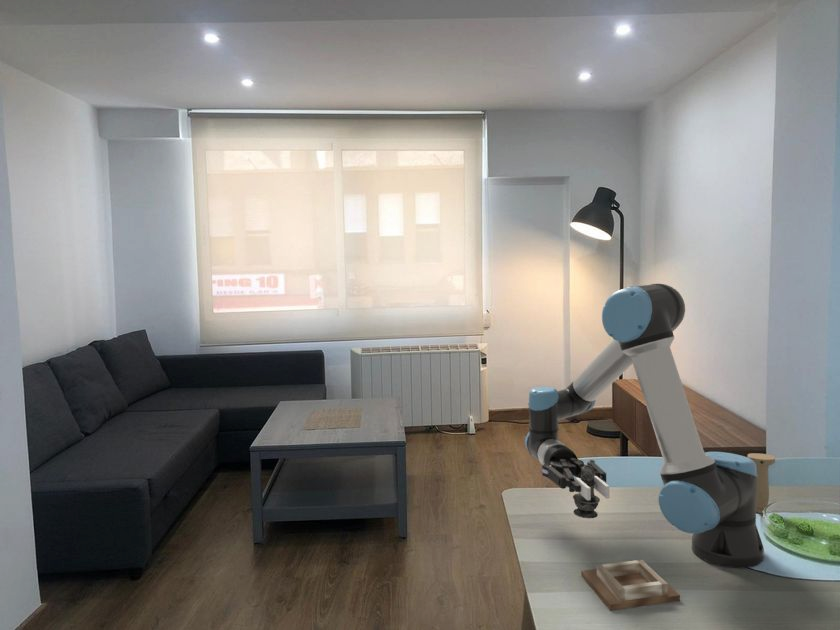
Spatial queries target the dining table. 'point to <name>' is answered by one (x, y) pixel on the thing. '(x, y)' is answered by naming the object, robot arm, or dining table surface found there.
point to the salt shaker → (584, 505)
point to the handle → (762, 478)
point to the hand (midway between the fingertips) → (598, 493)
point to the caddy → (629, 585)
